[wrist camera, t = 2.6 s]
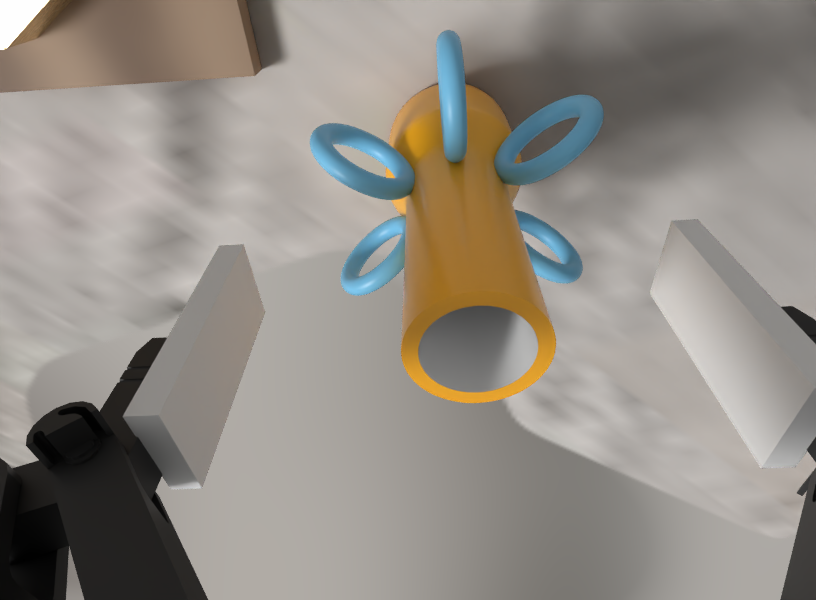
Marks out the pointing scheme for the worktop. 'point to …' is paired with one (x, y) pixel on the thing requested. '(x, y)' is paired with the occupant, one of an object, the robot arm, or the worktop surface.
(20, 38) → the tan flat ring
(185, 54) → the seat plate
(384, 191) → the cylinder
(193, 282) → the worktop surface
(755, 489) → the worktop surface
